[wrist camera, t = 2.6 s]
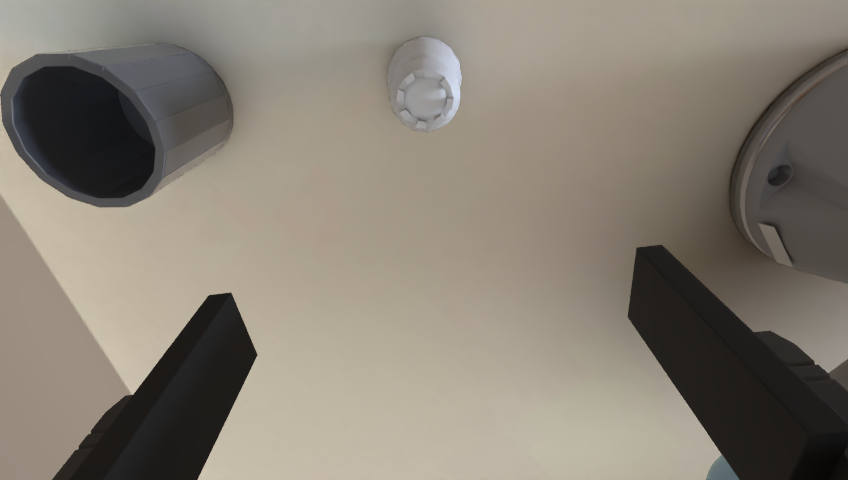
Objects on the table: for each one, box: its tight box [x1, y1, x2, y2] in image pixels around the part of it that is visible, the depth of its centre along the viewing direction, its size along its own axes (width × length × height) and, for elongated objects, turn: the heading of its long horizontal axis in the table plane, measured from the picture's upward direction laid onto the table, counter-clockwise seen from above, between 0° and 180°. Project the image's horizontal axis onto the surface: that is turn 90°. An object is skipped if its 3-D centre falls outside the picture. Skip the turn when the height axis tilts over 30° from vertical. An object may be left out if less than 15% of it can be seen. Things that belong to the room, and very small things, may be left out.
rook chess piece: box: [387, 37, 462, 132], centre depth 22 cm, size 4×4×8 cm
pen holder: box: [0, 43, 233, 207], centre depth 23 cm, size 7×7×8 cm
